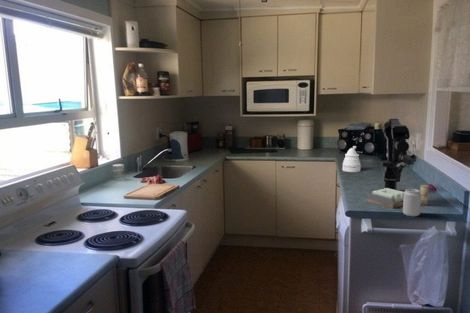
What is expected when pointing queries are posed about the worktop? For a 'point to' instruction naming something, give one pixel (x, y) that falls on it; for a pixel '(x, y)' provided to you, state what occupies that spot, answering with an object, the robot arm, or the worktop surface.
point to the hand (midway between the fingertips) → (397, 178)
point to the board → (383, 200)
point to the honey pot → (351, 161)
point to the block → (390, 194)
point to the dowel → (424, 194)
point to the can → (412, 202)
